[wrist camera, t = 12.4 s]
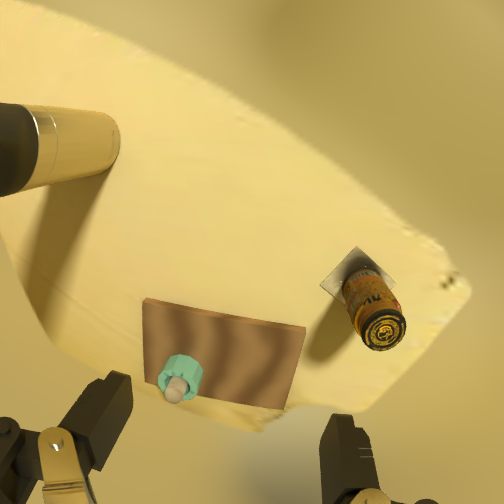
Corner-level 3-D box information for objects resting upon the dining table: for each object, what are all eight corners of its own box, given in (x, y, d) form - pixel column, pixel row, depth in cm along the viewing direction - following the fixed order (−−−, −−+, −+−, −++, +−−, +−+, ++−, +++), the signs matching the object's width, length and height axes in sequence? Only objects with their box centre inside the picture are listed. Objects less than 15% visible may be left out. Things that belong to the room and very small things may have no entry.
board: (147, 376, 52) (129, 409, 43) (146, 297, 47) (121, 326, 38) (283, 403, 51) (282, 442, 42) (305, 327, 46) (309, 364, 37)
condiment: (361, 318, 45) (381, 367, 33) (319, 284, 44) (331, 330, 32) (396, 282, 43) (427, 324, 31) (356, 245, 42) (380, 279, 30)
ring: (165, 379, 50) (158, 394, 46) (165, 350, 48) (157, 365, 44) (201, 387, 49) (196, 404, 46) (204, 359, 48) (198, 375, 44)
